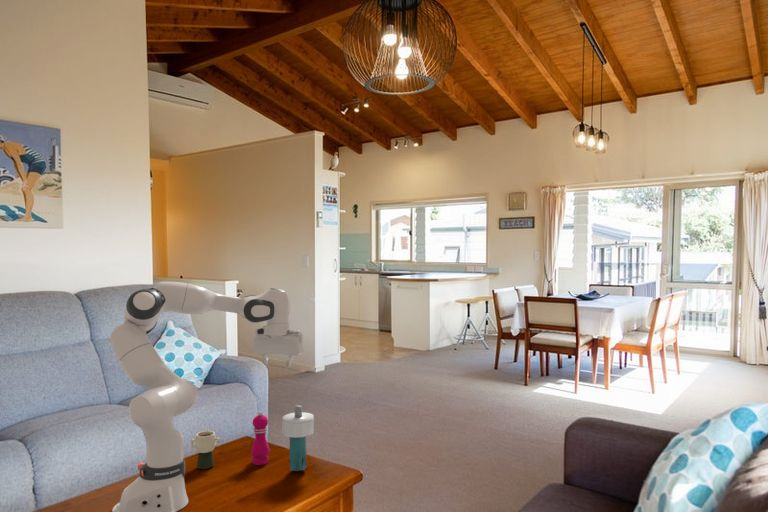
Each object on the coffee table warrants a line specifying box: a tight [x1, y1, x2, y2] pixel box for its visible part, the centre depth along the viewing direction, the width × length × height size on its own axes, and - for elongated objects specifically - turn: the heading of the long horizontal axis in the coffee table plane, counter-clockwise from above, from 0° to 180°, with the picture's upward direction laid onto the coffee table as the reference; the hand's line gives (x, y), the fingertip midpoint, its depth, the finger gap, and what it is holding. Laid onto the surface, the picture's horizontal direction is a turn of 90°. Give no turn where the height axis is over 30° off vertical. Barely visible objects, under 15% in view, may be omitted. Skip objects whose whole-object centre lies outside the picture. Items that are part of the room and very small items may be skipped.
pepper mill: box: [250, 410, 271, 466], centre depth 205 cm, size 7×7×20 cm
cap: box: [281, 404, 315, 438], centre depth 195 cm, size 12×12×10 cm
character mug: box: [190, 430, 221, 470], centre depth 200 cm, size 11×7×13 cm, turn 100°
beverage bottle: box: [288, 436, 308, 472], centre depth 196 cm, size 6×7×20 cm
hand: (278, 365), depth 202 cm, fingers open, 8 cm apart
